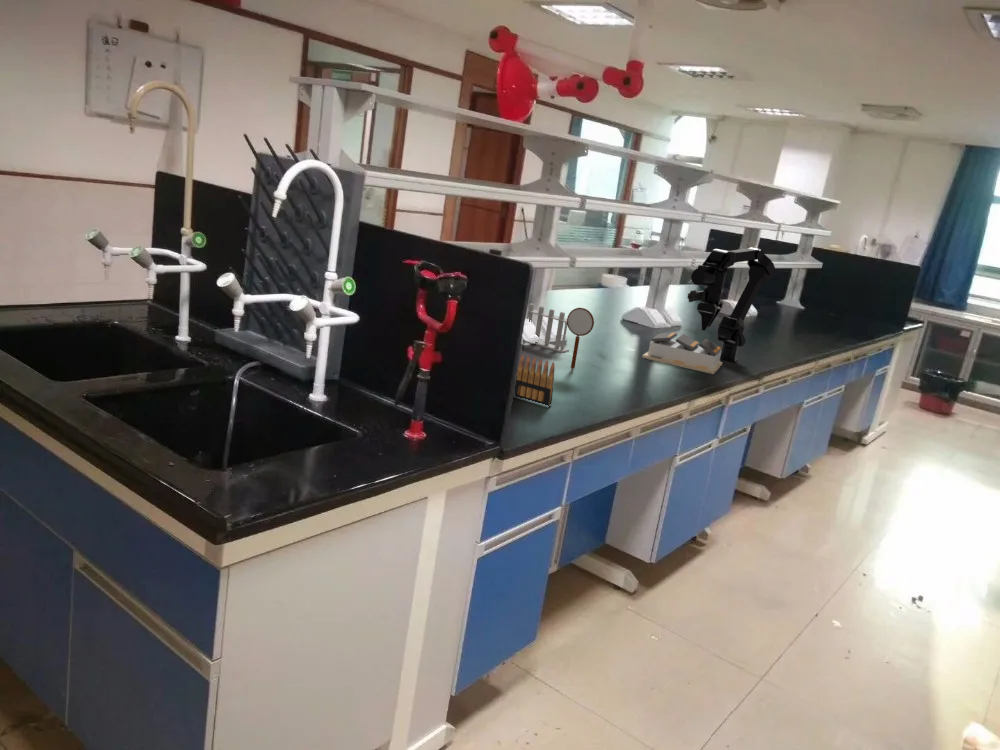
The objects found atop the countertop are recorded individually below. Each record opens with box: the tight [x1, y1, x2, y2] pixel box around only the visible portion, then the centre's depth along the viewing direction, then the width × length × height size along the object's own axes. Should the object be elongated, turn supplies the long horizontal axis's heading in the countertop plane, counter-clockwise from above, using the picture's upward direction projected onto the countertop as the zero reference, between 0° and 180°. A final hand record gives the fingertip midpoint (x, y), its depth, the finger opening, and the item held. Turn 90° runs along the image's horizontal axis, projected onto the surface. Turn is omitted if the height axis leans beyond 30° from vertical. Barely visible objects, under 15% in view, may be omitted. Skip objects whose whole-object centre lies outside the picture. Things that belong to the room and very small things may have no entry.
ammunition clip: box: [515, 353, 556, 406], centre depth 193 cm, size 11×2×12 cm, turn 62°
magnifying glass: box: [566, 307, 595, 372], centre depth 229 cm, size 9×2×20 cm, turn 63°
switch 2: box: [698, 338, 722, 356], centre depth 261 cm, size 12×6×1 cm, turn 155°
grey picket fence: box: [526, 303, 570, 354], centre depth 260 cm, size 25×4×13 cm, turn 51°
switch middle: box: [675, 333, 700, 351], centre depth 264 cm, size 12×6×1 cm, turn 155°
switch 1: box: [651, 332, 678, 342], centre depth 267 cm, size 12×6×1 cm, turn 155°
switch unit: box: [641, 339, 723, 375], centre depth 265 cm, size 18×25×6 cm
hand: (705, 328), depth 267 cm, fingers open, 9 cm apart
